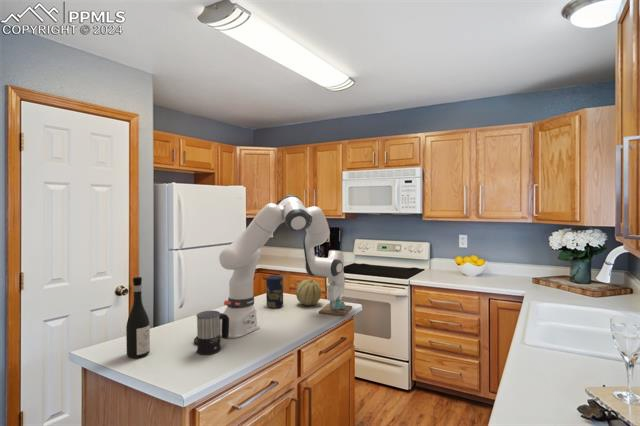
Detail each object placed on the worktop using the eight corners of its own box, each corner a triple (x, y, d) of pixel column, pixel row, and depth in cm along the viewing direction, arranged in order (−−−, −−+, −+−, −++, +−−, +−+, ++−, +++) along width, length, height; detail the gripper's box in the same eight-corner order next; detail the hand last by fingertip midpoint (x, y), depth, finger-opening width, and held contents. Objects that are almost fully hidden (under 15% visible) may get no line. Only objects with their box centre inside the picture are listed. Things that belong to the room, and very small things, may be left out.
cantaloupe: (303, 300, 223) (303, 275, 222) (325, 303, 216) (325, 277, 216) (291, 306, 209) (291, 280, 209) (314, 309, 203) (314, 282, 203)
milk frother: (210, 357, 141) (210, 318, 141) (177, 351, 147) (177, 313, 147) (232, 343, 154) (232, 308, 154) (201, 338, 160) (201, 304, 160)
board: (344, 316, 192) (344, 306, 191) (318, 313, 196) (318, 304, 196) (351, 307, 207) (351, 299, 206) (327, 305, 211) (327, 297, 211)
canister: (280, 309, 204) (280, 276, 204) (263, 308, 206) (263, 276, 206) (285, 304, 214) (285, 273, 213) (269, 303, 215) (269, 272, 215)
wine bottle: (154, 351, 146) (153, 275, 145) (141, 359, 138) (140, 280, 138) (135, 350, 148) (134, 275, 147) (122, 358, 140) (120, 279, 139)
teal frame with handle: (329, 308, 200) (329, 301, 199) (332, 306, 204) (332, 299, 204) (343, 310, 197) (343, 302, 197) (346, 307, 202) (346, 300, 202)
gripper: (335, 283, 190) (336, 310, 190) (346, 276, 209) (346, 300, 210) (324, 283, 192) (324, 309, 192) (335, 275, 211) (335, 299, 212)
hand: (335, 305), depth 201 cm, fingers closed on teal frame with handle, 5 cm apart
